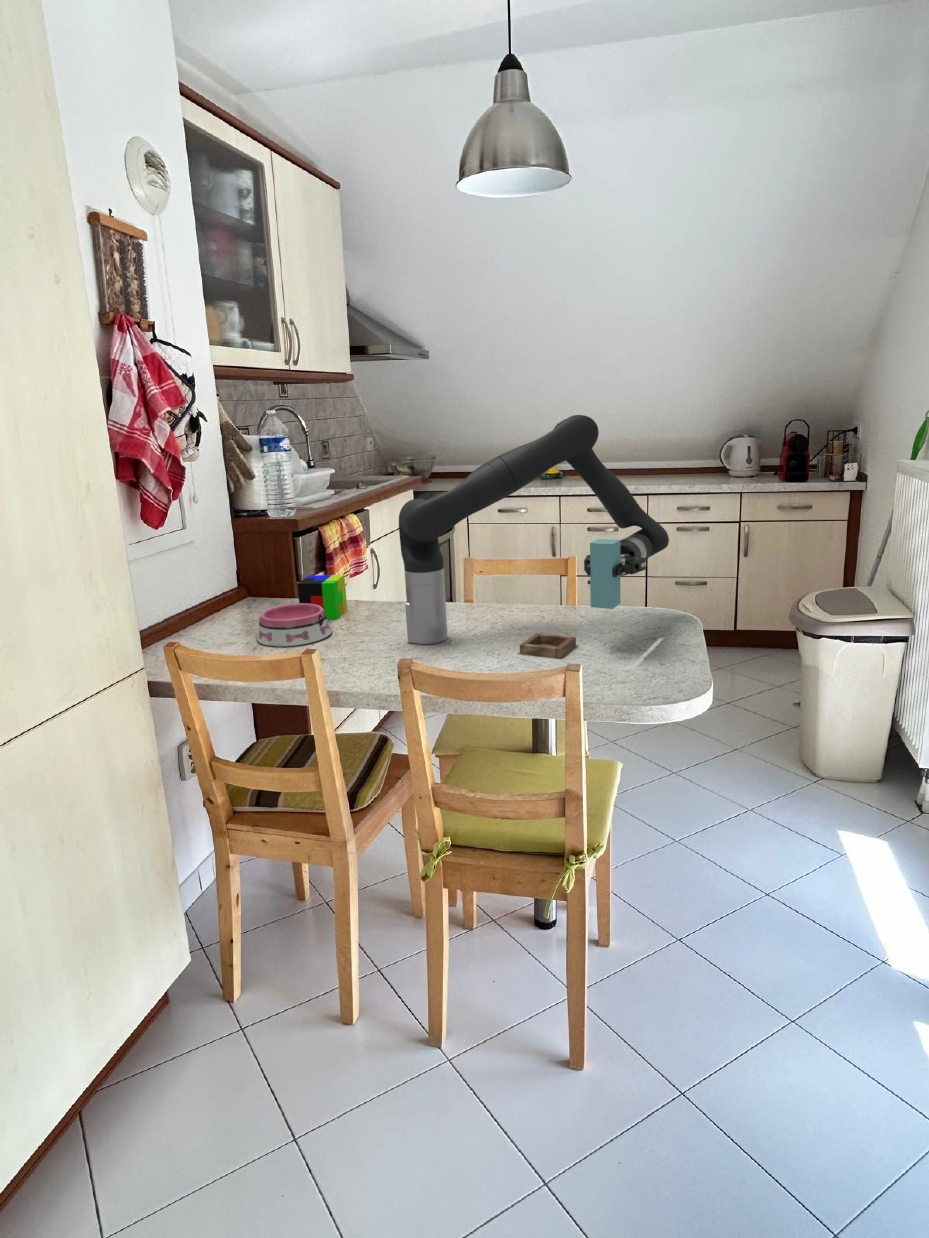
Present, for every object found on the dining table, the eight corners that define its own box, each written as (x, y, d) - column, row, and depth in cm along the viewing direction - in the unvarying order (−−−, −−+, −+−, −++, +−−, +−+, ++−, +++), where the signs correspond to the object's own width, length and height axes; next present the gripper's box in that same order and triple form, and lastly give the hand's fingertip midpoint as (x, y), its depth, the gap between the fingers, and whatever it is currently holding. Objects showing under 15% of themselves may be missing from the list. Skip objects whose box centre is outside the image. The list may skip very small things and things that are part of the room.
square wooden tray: (517, 658, 180) (516, 645, 180) (536, 645, 189) (535, 632, 188) (561, 663, 176) (561, 650, 175) (578, 649, 184) (578, 636, 184)
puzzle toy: (312, 610, 230) (309, 575, 228) (347, 610, 229) (344, 574, 226) (300, 620, 221) (297, 583, 218) (337, 619, 219) (333, 583, 217)
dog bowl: (317, 649, 195) (314, 621, 194) (244, 648, 199) (240, 620, 197) (342, 627, 213) (340, 601, 211) (274, 626, 216) (271, 601, 214)
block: (590, 607, 178) (589, 543, 174) (598, 601, 182) (597, 538, 178) (613, 609, 176) (612, 544, 172) (620, 603, 180) (620, 539, 176)
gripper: (595, 538, 191) (569, 552, 177) (657, 540, 184) (634, 555, 170) (596, 570, 193) (569, 586, 179) (656, 573, 186) (634, 591, 172)
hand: (601, 571), depth 175 cm, fingers closed on block, 5 cm apart
